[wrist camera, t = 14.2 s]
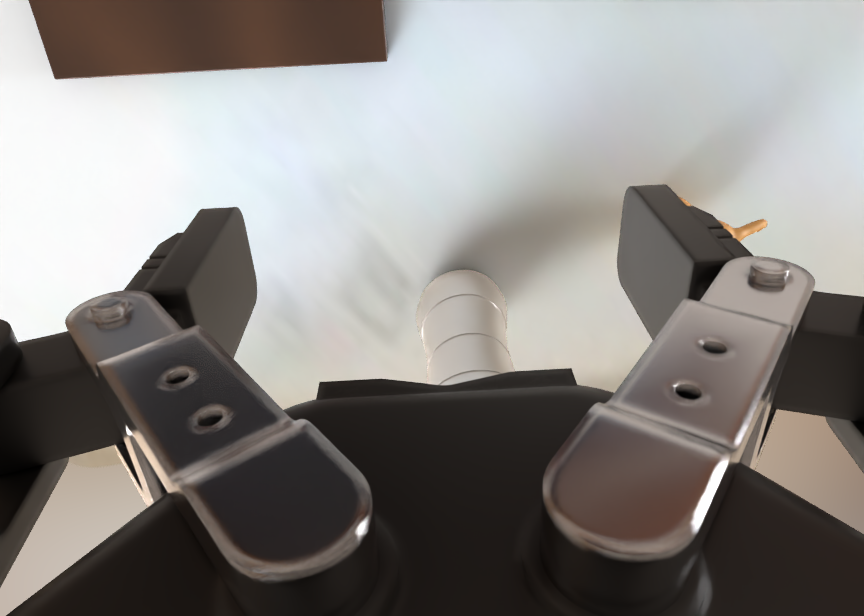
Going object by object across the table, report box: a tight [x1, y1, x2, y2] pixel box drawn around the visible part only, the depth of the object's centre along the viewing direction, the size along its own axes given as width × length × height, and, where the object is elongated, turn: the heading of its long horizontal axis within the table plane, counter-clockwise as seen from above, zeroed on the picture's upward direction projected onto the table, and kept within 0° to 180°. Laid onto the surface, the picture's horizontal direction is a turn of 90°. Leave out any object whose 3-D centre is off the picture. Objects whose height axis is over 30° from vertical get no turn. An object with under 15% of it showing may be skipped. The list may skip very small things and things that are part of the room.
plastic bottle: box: [416, 270, 515, 385], centre depth 41 cm, size 6×7×20 cm
